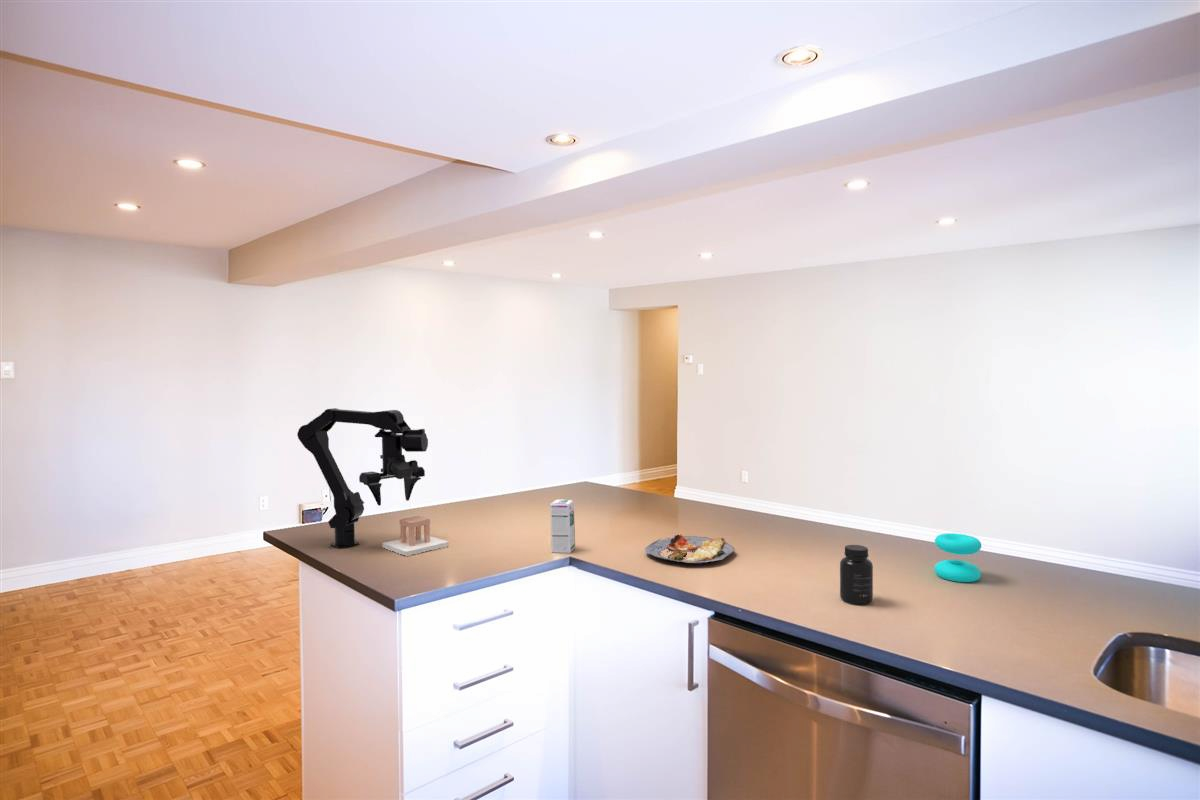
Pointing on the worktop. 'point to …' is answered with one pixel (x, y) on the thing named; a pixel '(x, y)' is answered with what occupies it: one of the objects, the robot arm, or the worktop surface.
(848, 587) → the supplement bottle
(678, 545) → the food plate
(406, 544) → the white board
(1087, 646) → the worktop surface
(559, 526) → the syrup box
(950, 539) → the donuts
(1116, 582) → the worktop surface
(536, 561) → the worktop surface
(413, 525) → the stool
